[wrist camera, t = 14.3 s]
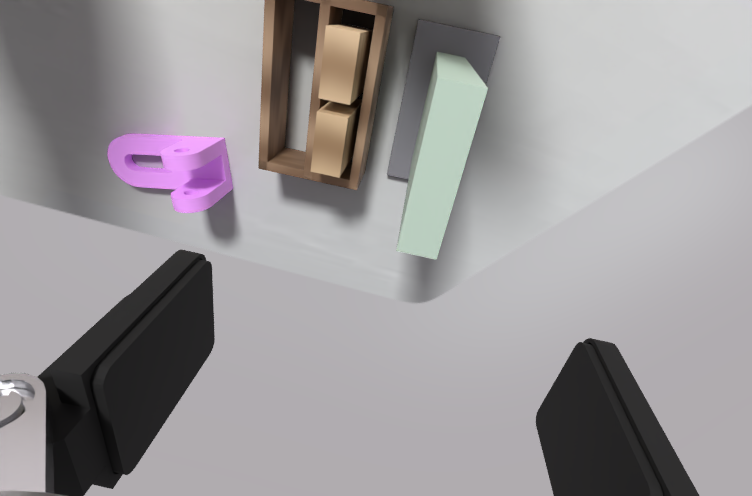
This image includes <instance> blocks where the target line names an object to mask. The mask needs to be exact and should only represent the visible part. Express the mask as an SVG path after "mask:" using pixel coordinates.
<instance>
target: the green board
mask: <svg viewBox="0 0 752 496" xmlns="http://www.w3.org/2000/svg"><path fill="white" fill-rule="evenodd" d="M487 90H488V88H487V86H486V85H485V83H484V82H483V81H482V79H481V78H480V77H479V75H478V74H477V73H476V71H475V70H474V69H473V67H472V66H471V65H470V63H469V62H468V61H467V59H466V58H465V57H460V56H456V55H451V54H446V53H441V52H437V53H436V58H435V62H434V66H433V71H432V75H431V79H430V84H429V88H428V92H427V97H426V101H425V105H424V110H423V114H422V118H421V123H420V127H419V131H418V136H417V140H416V144H415V149H414V153H413V157H412V162H411V168H410V173H409V179H408V185H407V191H406V197H405V203H404V209H403V214H402V220H401V226H400V232H399V238H398V244H397V250H396V251H399V252H403V253H408V254H412V255H417V256H421V257H426V258H430V259H435V260H437V256H438V253H439V250H440V246H441V243H442V240H443V236H444V233H445V230H446V227H447V223H448V220H449V217H450V213H451V210H452V207H453V203H454V200H455V197H456V193H457V190H458V187H459V183H460V180H461V177H462V173H463V170H464V167H465V163H466V160H467V157H468V153H469V150H470V147H471V143H472V140H473V137H474V134H475V130H476V127H477V124H478V120H479V117H480V114H481V110H482V107H483V104H484V100H485V97H486V94H487Z"/></svg>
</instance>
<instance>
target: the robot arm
mask: <svg viewBox="0 0 752 496" xmlns="http://www.w3.org/2000/svg"><path fill="white" fill-rule="evenodd" d="M213 314H214V313H213V286H212V265H211V263H210V262H209V261H206V258H205V256H204V255H203V254H199V253H195V252H190V251H185V250H179V251H177V252H176V253H175V254H173V256H171V257H170V258H169V259H168V260H167V261H166V262H165V263H164V264H163V265H162V266H160V267H159V268H158V269H157V270H156V271H155V272H154V273H153V274H152V275H151V276H150V277H148V278H147V279H146V280H145V281H144V282H143V283H142V284H141V285H140V286H139V287H138V288H136V290H134V291H133V292H132V293H131V294H130V295H128V296H126V297H125V298H124V299H123V300H121V301H120V302H119V303H118V304H117V305H116V306H115V307H114V308H112V309H111V310H110V312H108V313H107V314H106V315H105V316H104V317H103V318H102V319H100V320H99V321H98V322H97V323H96V324H95V325H94V326H93V327H92V328H91V329H90V330H88V331H87V332H86V333H85V334H84V335H83V336H82V337H81V338H80V339H79V340H77V341H76V342H75V343H74V344H73V345H72V346H71V347H70V348H69V349H68V350H66V351H65V352H64V353H63V354H62V355H61V356H60V357H59V358H58V359H57V360H56V361H55V362H53V363H52V364H51V365H50V366H49V367H48V368H47V369H46V370H45V371H43V373H41V374H40V375H39V376H38V377H36V376H33V375H30V374H26V373H9V374H3V375H0V496H84V495H85V493H86V492H87V490H88V489H89V488H90V486H91V485H92V484H94V485H98V486H102V487H107V488H111V489H113V488H114V486H115V485H116V483H117V482H118V480H119V479H120V477H121V476H122V474H125V475H128V474H129V473H131V472H132V471H133V469H134V468H135V467H136V465H137V464H138V462H139V461H140V459H141V458H142V456H143V455H144V453H145V452H146V450H147V449H148V447H149V445H150V444H151V442H152V441H153V439H154V438H155V436H156V435H157V433H158V432H159V430H160V429H161V427H162V426H163V424H164V423H165V421H166V420H167V418H168V417H169V415H170V414H171V412H172V411H173V409H174V408H175V406H176V404H177V403H178V401H179V400H180V399H181V397H182V395H183V394H184V392H185V391H186V389H187V388H188V386H189V385H190V383H191V382H192V380H193V379H194V377H195V376H196V374H197V373H198V371H199V370H200V368H201V367H202V365H203V364H204V362H205V361H206V359H207V358H208V356H209V354H210V353H211V351H212V348H213V345H214V315H213ZM536 426H537V430H538V434H539V438H540V442H541V446H542V450H543V454H544V458H545V462H546V466H547V470H548V474H549V478H550V482H551V486H552V490H553V494H554V496H699V494H698V493H697V491H696V489H695V487H694V485H693V483H692V482H691V480H690V478H689V476H688V474H687V473H686V471H685V469H684V468H683V465H682V464H681V462H680V460H679V458H678V456H677V455H676V453H675V451H674V449H673V447H672V446H671V444H670V442H669V440H668V438H667V436H666V435H665V433H664V431H663V429H662V427H661V426H660V424H659V422H658V420H657V418H656V417H655V415H654V413H653V411H652V409H651V408H650V406H649V404H648V402H647V400H646V399H645V397H644V395H643V393H642V391H641V390H640V388H639V386H638V384H637V382H636V380H635V379H634V377H633V375H632V373H631V371H630V370H629V368H628V366H627V364H626V363H625V361H624V359H623V357H622V356H621V354H620V352H619V350H618V348H617V347H616V346H615V344H613V343H609V342H605V341H600V340H596V339H591V338H590V339H586V340H585V341H584V342H583V343H582V342H579V343H578V344H577V345H576V346H575V348H574V349H573V351H572V353H571V355H570V356H569V358H568V360H567V361H566V363H565V365H564V367H563V368H562V370H561V372H560V374H559V375H558V377H557V379H556V381H555V382H554V384H553V386H552V387H551V389H550V391H549V393H548V394H547V396H546V398H545V399H544V401H543V403H542V405H541V406H540V408H539V410H538V412H537V416H536Z"/></svg>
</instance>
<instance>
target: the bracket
mask: <svg viewBox="0 0 752 496" xmlns="http://www.w3.org/2000/svg"><path fill="white" fill-rule="evenodd" d="M132 154H138V155H157V156H161V158H162V162H163V166H164V169H163V168H145V167H139V166H137V165H136V164H135V163H134V161H133V159H132ZM108 160H109V163H110V166H111V168H112V169H113V171H114V172H115V173H116V175H117V176H118V177H119V178H120V179H122V180H123V181H124V182H126V183H128V184H130V185H132V186H135V187H145V188H161V189H176V190H174V191H173V192H172V193H171V199H172V203H173V207H174V210H176V211H178V212H182V213H194V212H199V211H203V210H206V209H208V208H210V207H212V206H213V205H214V204H215V203H216V202H218V201H219V200H220V199H221V198H222V197H224V196H225V195H226V194H227V193H228V192H230V191H231V190H232V189H233V185H232V179H231V173H230V167H229V161H228V155H227V150H226V144H225V138H215V137H194V136H173V135H153V134H126V135H123V136H120V137H118V138H116V139H114V140H113V141H112V142H111V143H110V145H109V147H108Z"/></svg>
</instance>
